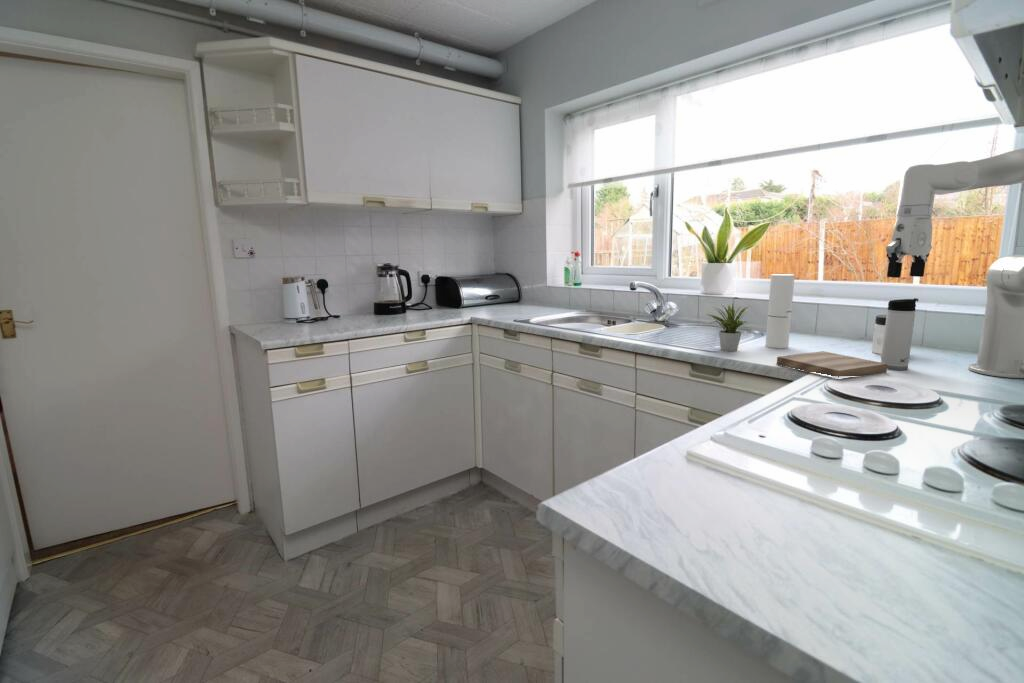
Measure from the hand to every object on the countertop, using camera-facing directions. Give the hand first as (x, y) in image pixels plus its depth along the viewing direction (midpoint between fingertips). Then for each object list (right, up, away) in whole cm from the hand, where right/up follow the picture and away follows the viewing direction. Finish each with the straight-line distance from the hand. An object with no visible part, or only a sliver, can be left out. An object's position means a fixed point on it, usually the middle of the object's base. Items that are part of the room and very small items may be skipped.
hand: (905, 276), depth 138 cm
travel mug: (+1, -26, +5) cm, 26 cm away
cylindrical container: (-16, -20, +38) cm, 45 cm away
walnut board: (-18, -26, +5) cm, 32 cm away
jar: (+13, -22, +24) cm, 35 cm away
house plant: (-34, -21, +34) cm, 52 cm away
